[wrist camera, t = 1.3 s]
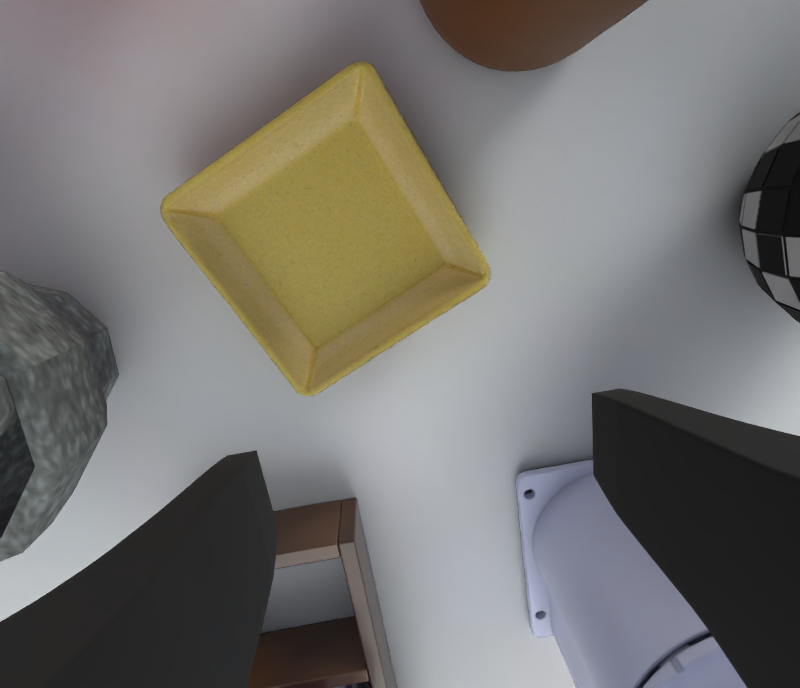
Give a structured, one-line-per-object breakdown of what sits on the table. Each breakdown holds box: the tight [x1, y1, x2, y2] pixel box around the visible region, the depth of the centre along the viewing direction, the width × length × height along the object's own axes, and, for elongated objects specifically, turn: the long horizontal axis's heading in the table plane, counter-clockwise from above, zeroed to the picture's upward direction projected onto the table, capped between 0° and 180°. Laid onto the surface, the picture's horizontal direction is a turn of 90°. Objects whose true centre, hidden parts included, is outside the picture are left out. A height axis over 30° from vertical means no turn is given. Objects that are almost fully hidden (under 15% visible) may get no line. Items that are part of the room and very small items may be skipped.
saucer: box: [160, 61, 491, 396], centre depth 18 cm, size 9×9×2 cm
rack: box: [247, 498, 397, 688], centre depth 22 cm, size 7×14×3 cm, turn 9°
